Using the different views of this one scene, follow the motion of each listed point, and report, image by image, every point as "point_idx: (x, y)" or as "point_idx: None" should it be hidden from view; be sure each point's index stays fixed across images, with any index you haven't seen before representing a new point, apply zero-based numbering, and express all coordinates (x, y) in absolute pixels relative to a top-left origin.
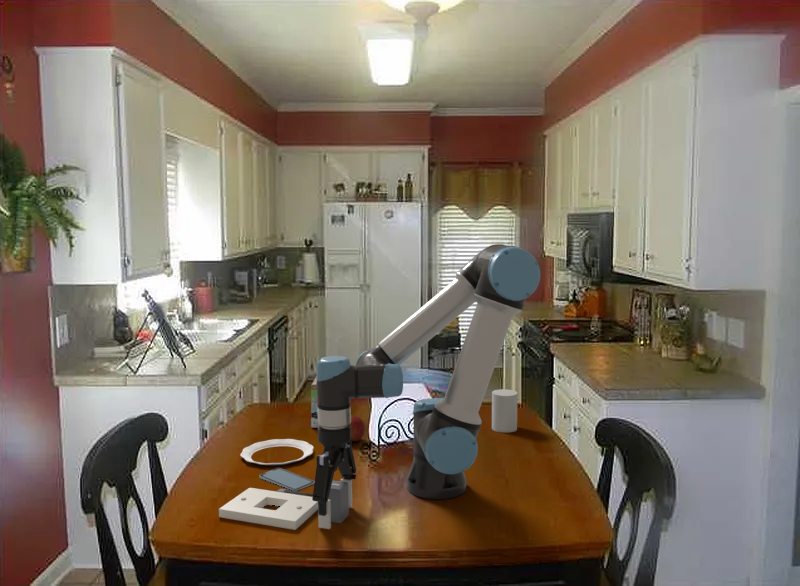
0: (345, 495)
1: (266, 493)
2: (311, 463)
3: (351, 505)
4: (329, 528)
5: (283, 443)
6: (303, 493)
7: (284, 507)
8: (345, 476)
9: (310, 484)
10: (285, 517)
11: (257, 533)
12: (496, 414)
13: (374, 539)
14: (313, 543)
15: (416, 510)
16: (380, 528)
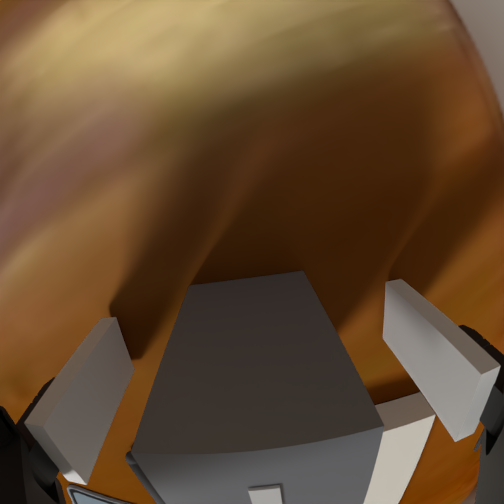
0: (225, 367)
1: None
2: None
3: (107, 321)
4: (402, 280)
5: None
6: (160, 500)
7: None
8: (45, 477)
9: (87, 492)
10: (408, 453)
11: (447, 443)
12: None
13: (381, 16)
14: (497, 267)
15: (9, 19)
16: (256, 27)
